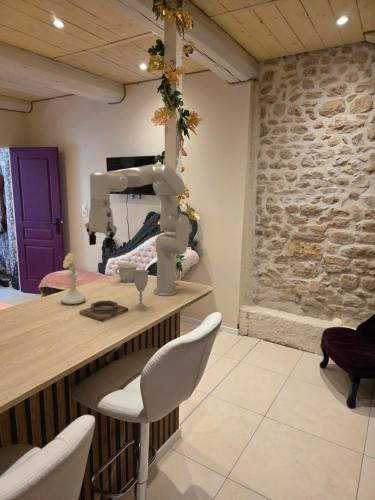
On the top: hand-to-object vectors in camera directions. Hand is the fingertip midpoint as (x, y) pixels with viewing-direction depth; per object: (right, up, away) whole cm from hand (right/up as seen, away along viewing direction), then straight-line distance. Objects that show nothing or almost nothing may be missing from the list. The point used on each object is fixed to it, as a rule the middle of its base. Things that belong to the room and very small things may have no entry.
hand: (100, 246), depth 137 cm
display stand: (-2, -29, +12) cm, 32 cm away
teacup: (-1, -20, +61) cm, 64 cm away
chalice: (+14, -29, +17) cm, 37 cm away
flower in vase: (-19, -27, +23) cm, 40 cm away
